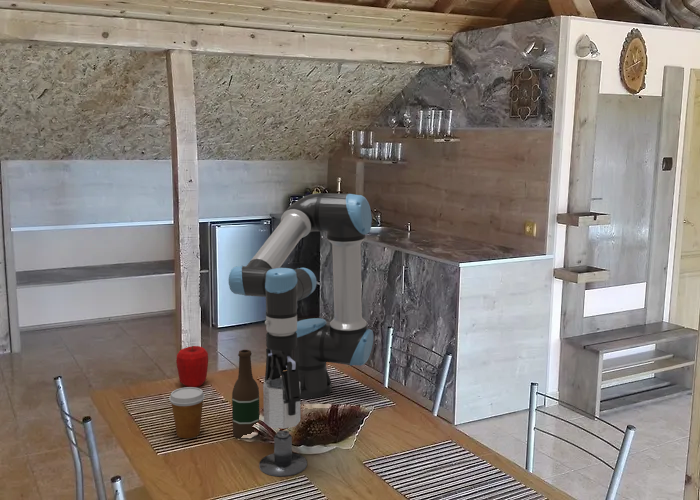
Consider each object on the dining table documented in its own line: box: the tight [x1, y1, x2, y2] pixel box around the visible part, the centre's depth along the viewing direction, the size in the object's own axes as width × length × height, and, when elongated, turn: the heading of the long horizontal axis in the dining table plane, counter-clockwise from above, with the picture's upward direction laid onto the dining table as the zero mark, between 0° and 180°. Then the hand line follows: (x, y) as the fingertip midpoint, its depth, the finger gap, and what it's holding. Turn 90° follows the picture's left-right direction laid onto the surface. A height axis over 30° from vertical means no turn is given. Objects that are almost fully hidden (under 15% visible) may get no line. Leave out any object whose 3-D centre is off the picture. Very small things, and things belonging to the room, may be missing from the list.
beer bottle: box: [231, 349, 261, 440], centre depth 194 cm, size 8×8×24 cm
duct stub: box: [258, 430, 308, 478], centre depth 177 cm, size 12×12×9 cm
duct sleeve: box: [262, 376, 301, 429], centre depth 175 cm, size 8×8×10 cm
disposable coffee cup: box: [168, 386, 206, 439], centre depth 195 cm, size 10×10×12 cm
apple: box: [175, 345, 209, 388], centre depth 232 cm, size 11×10×14 cm
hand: (282, 419), depth 176 cm, fingers closed on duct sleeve, 8 cm apart
